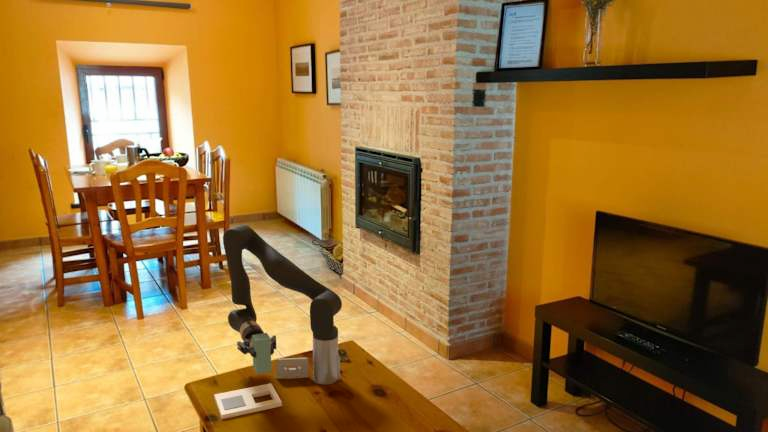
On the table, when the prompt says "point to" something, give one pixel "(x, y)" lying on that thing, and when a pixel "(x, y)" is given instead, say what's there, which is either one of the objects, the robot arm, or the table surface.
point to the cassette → (291, 372)
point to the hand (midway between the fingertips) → (263, 353)
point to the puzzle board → (246, 401)
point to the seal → (343, 355)
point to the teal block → (262, 353)
